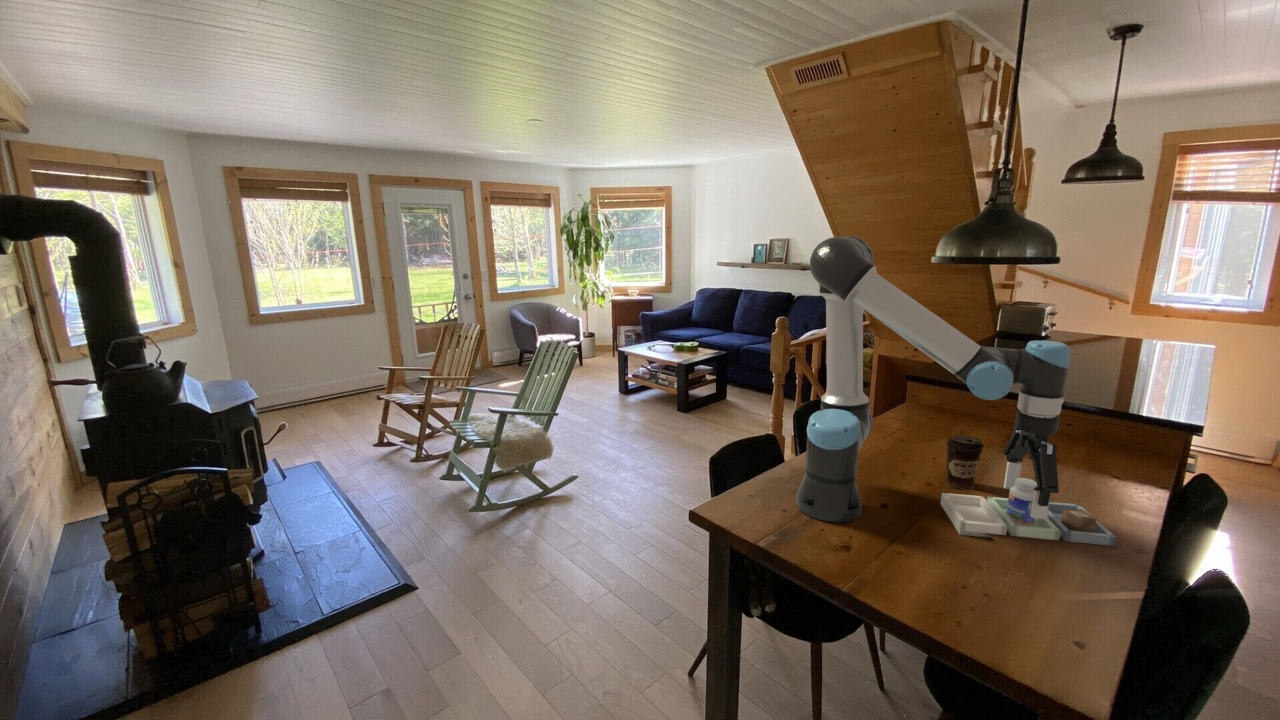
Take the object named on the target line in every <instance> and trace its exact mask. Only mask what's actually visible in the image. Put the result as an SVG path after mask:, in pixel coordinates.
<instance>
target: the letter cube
mask: <svg viewBox="0 0 1280 720" xmlns="http://www.w3.org/2000/svg"><path fill="white" fill-rule="evenodd" d="M1088 513H1089V512H1088ZM1088 513H1086V512H1085V511H1083V510H1081V509H1075V510H1063V514H1062V520H1061V523H1062V524H1063V525H1064V526H1065V527H1066V528H1067V529H1068V530H1070V531H1080V532H1091V533H1094V530H1095V525H1096V520H1097V521H1098V519H1097V517H1094V516H1093V515H1092V514H1091V513H1090V514H1091V515H1092V516H1091V515H1090V514H1088Z"/></svg>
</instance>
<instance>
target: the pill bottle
mask: <svg viewBox="0 0 1280 720" xmlns="http://www.w3.org/2000/svg"><path fill="white" fill-rule="evenodd" d="M1035 487H1037V483H1036V480H1032V479H1031V478H1026V477H1020V478H1017V479H1016V481H1015V486H1014V487H1012V488H1011V489H1009V493H1008V504H1007V510H1006V514H1007V515H1008V516H1009V518H1010V519H1011V520H1012V521H1013V522H1014V524H1016V525H1020V526H1032V525H1034V523H1035V518H1032V517H1031V516H1030V513H1031V507H1032V501H1033V495H1034V488H1035Z"/></svg>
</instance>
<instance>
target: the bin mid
mask: <svg viewBox="0 0 1280 720" xmlns="http://www.w3.org/2000/svg"><path fill="white" fill-rule="evenodd" d="M1008 499H1009V497H1006V498H1005V497H998V496H997V497H996V496H995V497H994V496H987V499H986V501H987V502H988V503H989V504H990V506H991V507H992V508H993V509H994V511H995V512H996V513H997V514H998V516H999V517H1000V518H1001V519H1002V521H1003V522H1004V523H1005V524H1006V525H1007V532H1008V534H1009V535H1010V536H1012V537H1020V538H1031V539H1039V540H1041V539H1042V540H1049V541H1050V540H1051V541H1060V538H1061V537H1060V534H1061V531H1060V530H1059V529H1058V528H1057V527H1056V526H1055V525H1054V524H1053V523H1052V522H1051V521H1050V520H1049V519H1048V518H1046V519H1041V518H1035V523H1034V525H1032V526H1020V525H1016V524H1014V522H1013V521H1012V520H1011V519H1010V518H1009V516H1008V515H1007V514H1006V510H1007V504H1008Z"/></svg>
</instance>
